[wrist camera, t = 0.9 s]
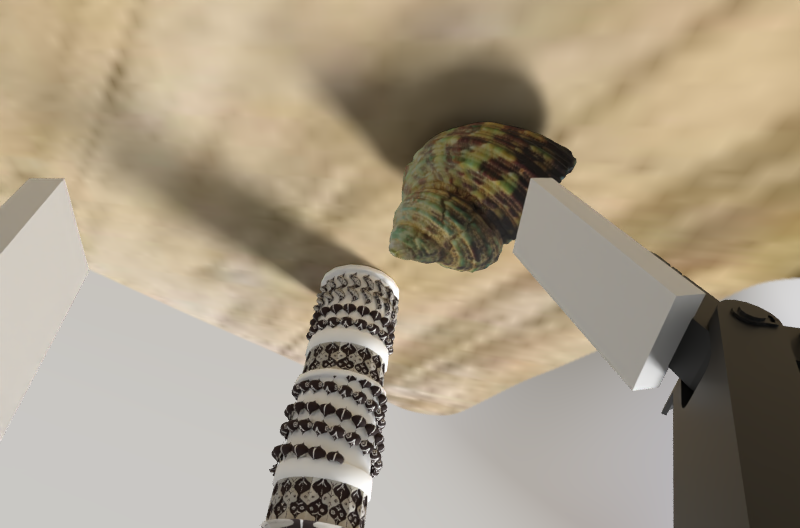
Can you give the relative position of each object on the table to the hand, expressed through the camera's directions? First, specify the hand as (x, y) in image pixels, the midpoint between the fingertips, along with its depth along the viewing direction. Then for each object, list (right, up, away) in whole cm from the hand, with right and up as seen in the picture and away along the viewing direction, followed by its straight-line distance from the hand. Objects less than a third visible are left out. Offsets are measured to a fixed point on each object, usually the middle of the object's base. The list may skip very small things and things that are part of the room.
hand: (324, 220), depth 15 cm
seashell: (+8, +7, +24) cm, 26 cm away
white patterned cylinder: (-2, -4, +38) cm, 38 cm away
